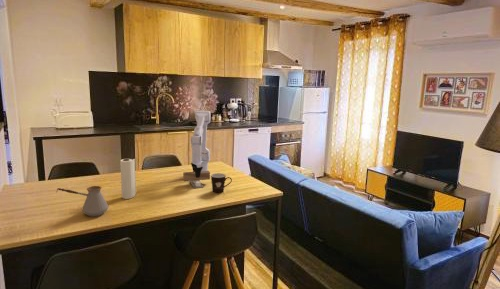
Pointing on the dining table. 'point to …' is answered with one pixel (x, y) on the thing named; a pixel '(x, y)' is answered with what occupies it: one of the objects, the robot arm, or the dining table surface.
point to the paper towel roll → (128, 178)
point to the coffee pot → (92, 201)
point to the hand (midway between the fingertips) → (196, 175)
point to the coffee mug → (218, 182)
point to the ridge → (196, 184)
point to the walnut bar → (192, 177)
